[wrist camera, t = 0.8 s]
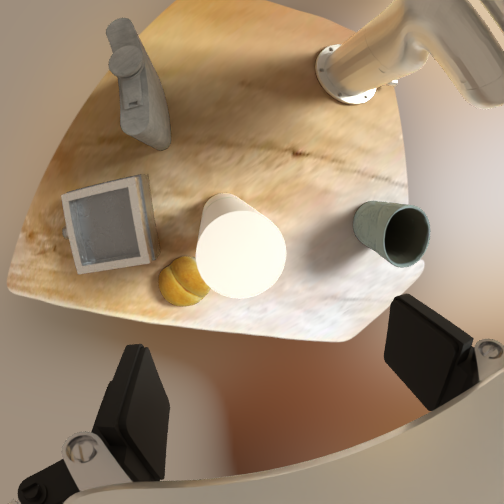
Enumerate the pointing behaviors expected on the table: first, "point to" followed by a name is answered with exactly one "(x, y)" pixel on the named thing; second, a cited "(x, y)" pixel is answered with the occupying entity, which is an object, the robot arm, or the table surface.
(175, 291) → the bread roll
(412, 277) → the table surface
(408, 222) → the green cup
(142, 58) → the hip flask
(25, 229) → the table surface
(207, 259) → the cylindrical container
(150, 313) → the table surface
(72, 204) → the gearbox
